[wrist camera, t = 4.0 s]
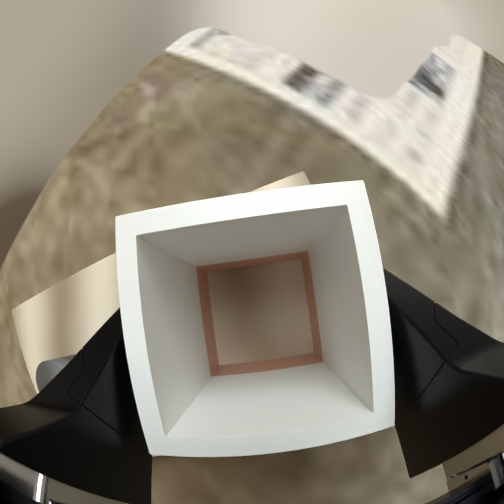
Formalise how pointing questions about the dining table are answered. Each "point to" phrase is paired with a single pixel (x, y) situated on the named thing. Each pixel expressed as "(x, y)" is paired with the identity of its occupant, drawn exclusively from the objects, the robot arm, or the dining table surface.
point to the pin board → (222, 306)
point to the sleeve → (265, 371)
